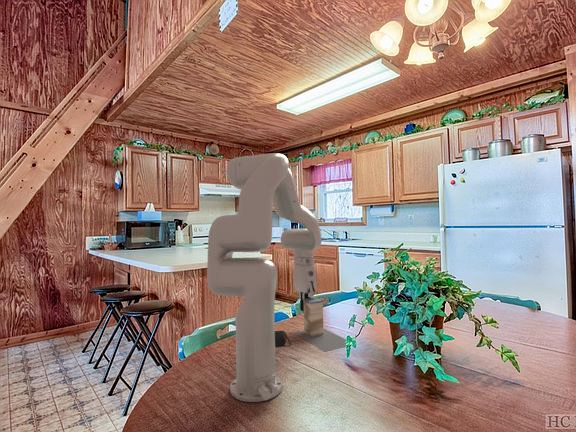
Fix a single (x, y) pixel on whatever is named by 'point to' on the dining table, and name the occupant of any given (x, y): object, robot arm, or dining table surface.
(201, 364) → the dining table surface
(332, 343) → the rubber mat
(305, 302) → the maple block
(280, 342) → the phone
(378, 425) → the dining table surface
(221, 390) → the dining table surface
